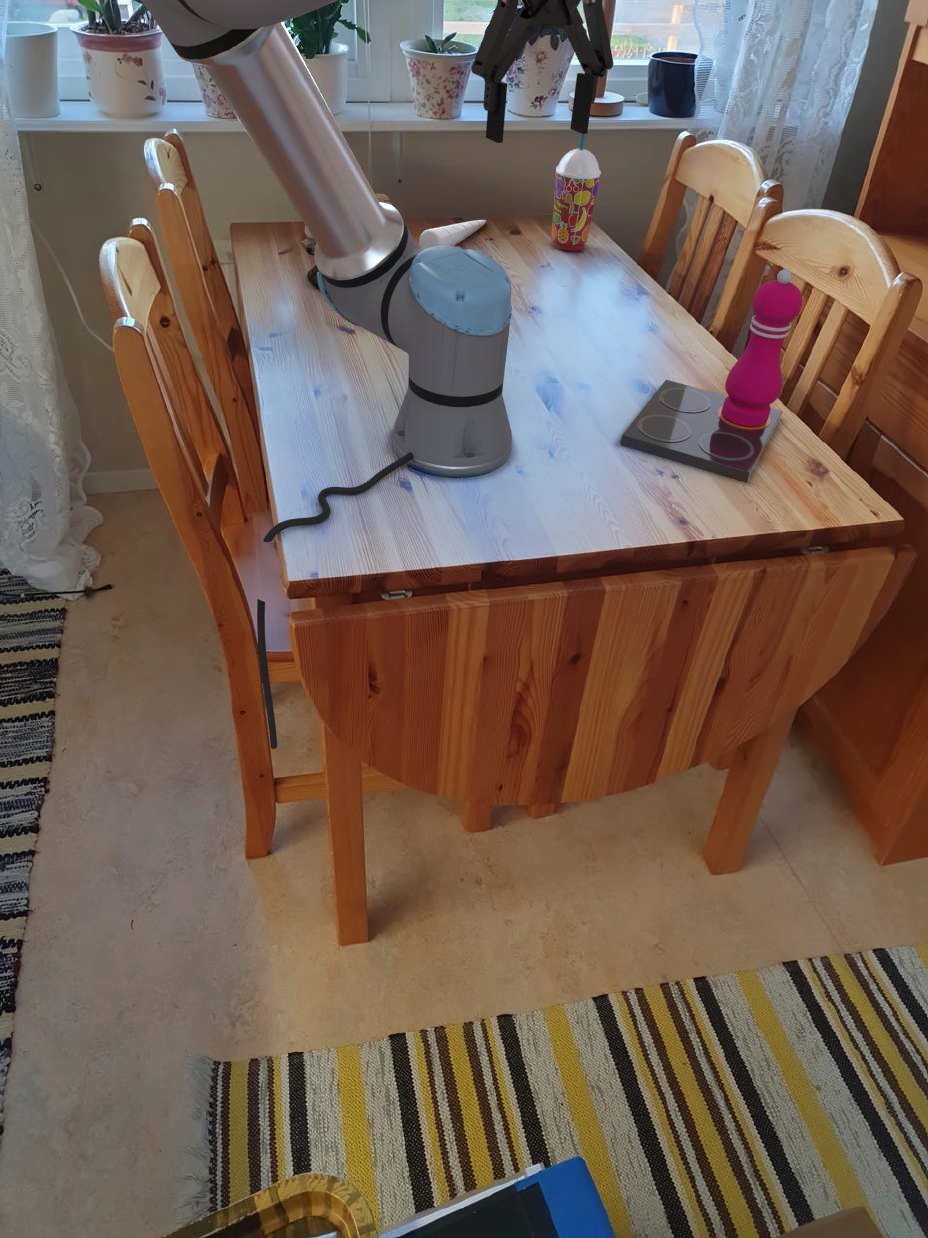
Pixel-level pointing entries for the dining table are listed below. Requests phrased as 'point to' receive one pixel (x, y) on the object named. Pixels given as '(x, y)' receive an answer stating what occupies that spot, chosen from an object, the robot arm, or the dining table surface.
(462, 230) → the unicorn horn
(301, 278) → the dining table surface
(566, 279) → the dining table surface
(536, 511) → the dining table surface
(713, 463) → the hob
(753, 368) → the pepper mill
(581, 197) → the smoothie
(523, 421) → the dining table surface
